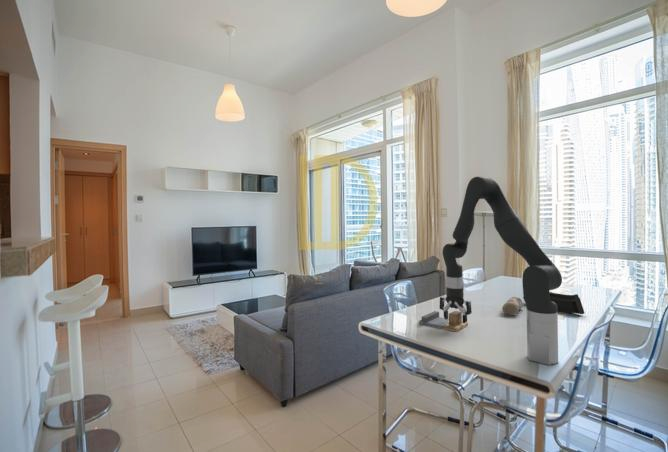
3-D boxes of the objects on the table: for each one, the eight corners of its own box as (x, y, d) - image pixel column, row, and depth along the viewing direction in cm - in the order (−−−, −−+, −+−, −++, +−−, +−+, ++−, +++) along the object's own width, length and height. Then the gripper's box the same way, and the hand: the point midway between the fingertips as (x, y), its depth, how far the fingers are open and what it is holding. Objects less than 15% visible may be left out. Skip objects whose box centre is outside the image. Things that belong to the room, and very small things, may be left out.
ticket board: (441, 328, 147) (441, 321, 147) (418, 323, 155) (418, 316, 155) (454, 322, 156) (454, 314, 156) (431, 317, 164) (431, 310, 164)
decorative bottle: (518, 317, 162) (518, 304, 162) (502, 314, 167) (501, 302, 167) (526, 305, 182) (525, 294, 182) (511, 304, 187) (510, 292, 187)
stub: (456, 331, 142) (456, 317, 142) (442, 328, 147) (442, 314, 147) (468, 325, 151) (467, 311, 151) (454, 322, 155) (454, 308, 155)
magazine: (590, 299, 159) (533, 273, 185) (586, 299, 157) (529, 274, 184) (579, 329, 164) (525, 300, 190) (575, 330, 162) (521, 300, 188)
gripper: (436, 285, 151) (437, 319, 151) (466, 289, 141) (467, 326, 141) (443, 283, 156) (444, 316, 157) (473, 286, 146) (474, 322, 147)
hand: (455, 320), depth 149 cm, fingers open, 8 cm apart
